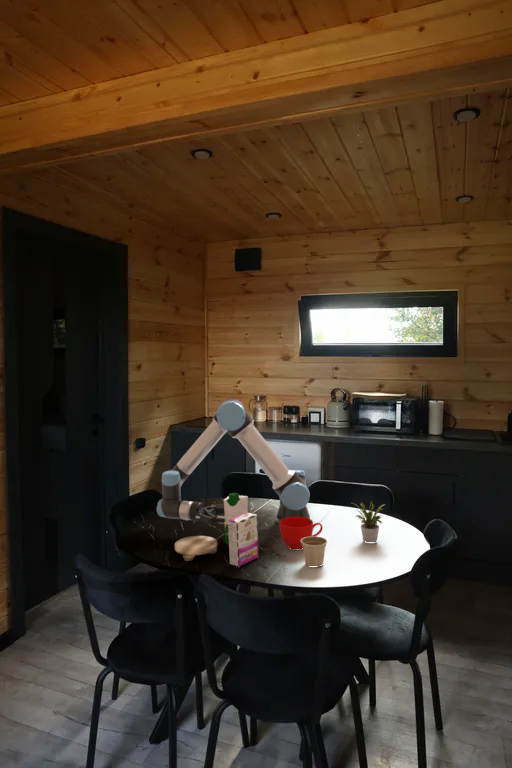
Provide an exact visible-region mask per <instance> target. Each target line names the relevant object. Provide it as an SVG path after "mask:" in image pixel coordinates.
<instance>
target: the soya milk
mask: <svg viewBox="0 0 512 768" xmlns="http://www.w3.org/2000/svg"><path fill="white" fill-rule="evenodd" d="M248 500H249V496H247V495H240V493H237V492H231V493H229V494H228V496H227V497H226V498H224V499H223V504H224V513H223V516H226V517H233V518H235V517H238V516H240V515H243V514H245V513H249V512H248V503H249V501H248ZM224 537H225V538H224V539H225V545H229V533H228V524H224Z"/></svg>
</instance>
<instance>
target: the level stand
mask: <svg viewBox="0 0 512 768" xmlns="http://www.w3.org/2000/svg"><path fill="white" fill-rule="evenodd" d="M217 548H218V541H217V539H216V538H215V537H211V536H208V535H207V536H206V535H191V536H187V537H183V538H180V539H179V540H176V541H175V543H174V551H175V552H176V553H178V554H181V555H182V557H183V559H184V561H186V562H190V561H191V562H192V561H193V559H195V558H196V556H201V555H206V554H211V555H214V554H217Z"/></svg>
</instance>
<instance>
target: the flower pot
mask: <svg viewBox="0 0 512 768" xmlns="http://www.w3.org/2000/svg"><path fill="white" fill-rule="evenodd" d="M301 543H302V546H303V549H302V550H303V556H304V561H305V562H304V563H305V565H306V564H307V565H309V566H319V567H320V565H322V564H323V565H324V559H325V551H326V546H327V543H328V539H326V538H325V537H322V536H318V535H317V536H311V537H305V538H303V539H301ZM307 565H306V566H307ZM323 565H322V566H323Z"/></svg>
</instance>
